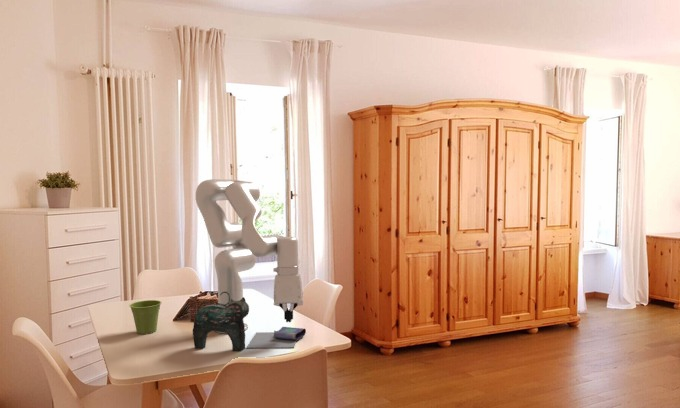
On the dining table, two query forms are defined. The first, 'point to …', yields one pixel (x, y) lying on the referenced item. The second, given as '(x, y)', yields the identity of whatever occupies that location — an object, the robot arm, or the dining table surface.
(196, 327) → the ceramic cat
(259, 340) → the mat
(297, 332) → the flask
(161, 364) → the dining table surface
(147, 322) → the plant pot
